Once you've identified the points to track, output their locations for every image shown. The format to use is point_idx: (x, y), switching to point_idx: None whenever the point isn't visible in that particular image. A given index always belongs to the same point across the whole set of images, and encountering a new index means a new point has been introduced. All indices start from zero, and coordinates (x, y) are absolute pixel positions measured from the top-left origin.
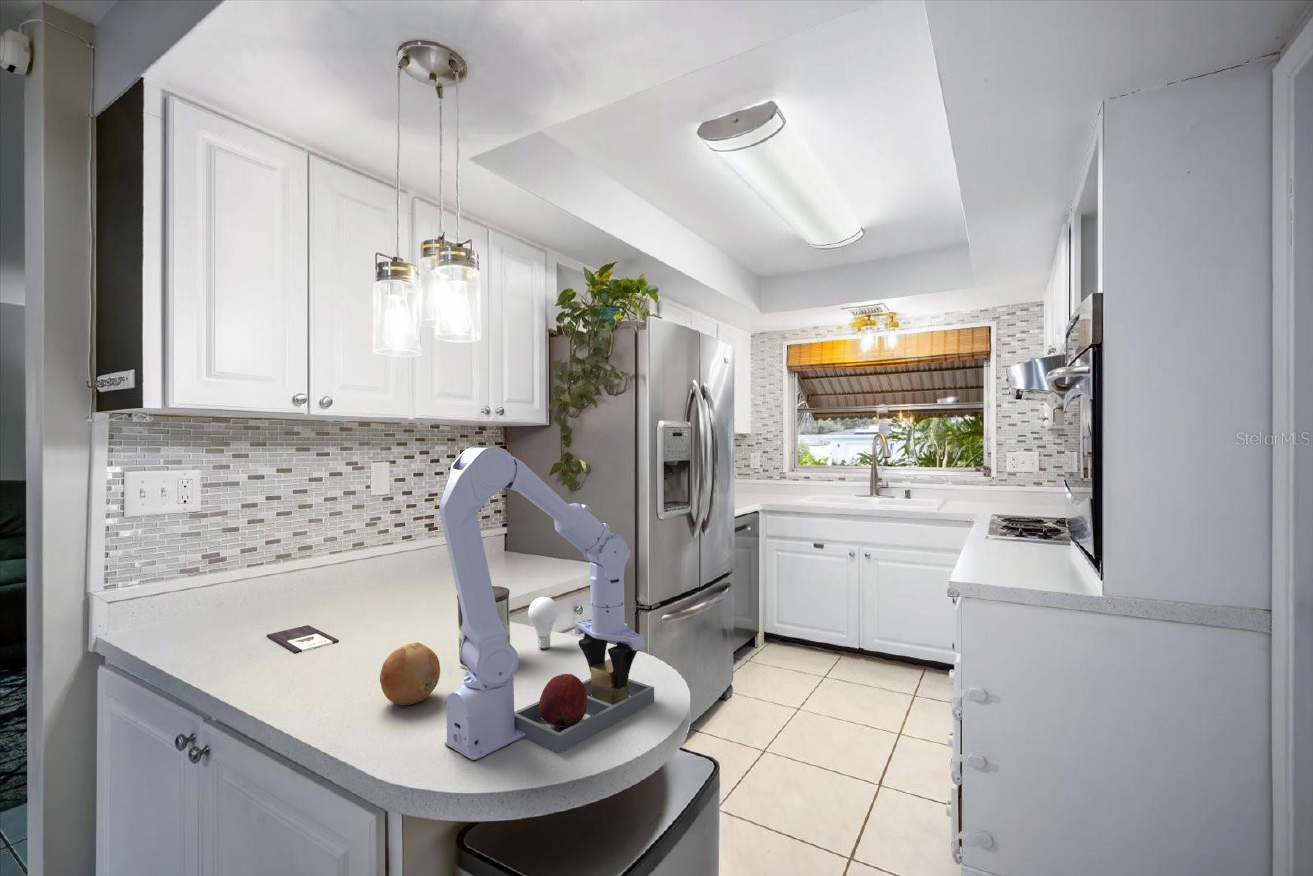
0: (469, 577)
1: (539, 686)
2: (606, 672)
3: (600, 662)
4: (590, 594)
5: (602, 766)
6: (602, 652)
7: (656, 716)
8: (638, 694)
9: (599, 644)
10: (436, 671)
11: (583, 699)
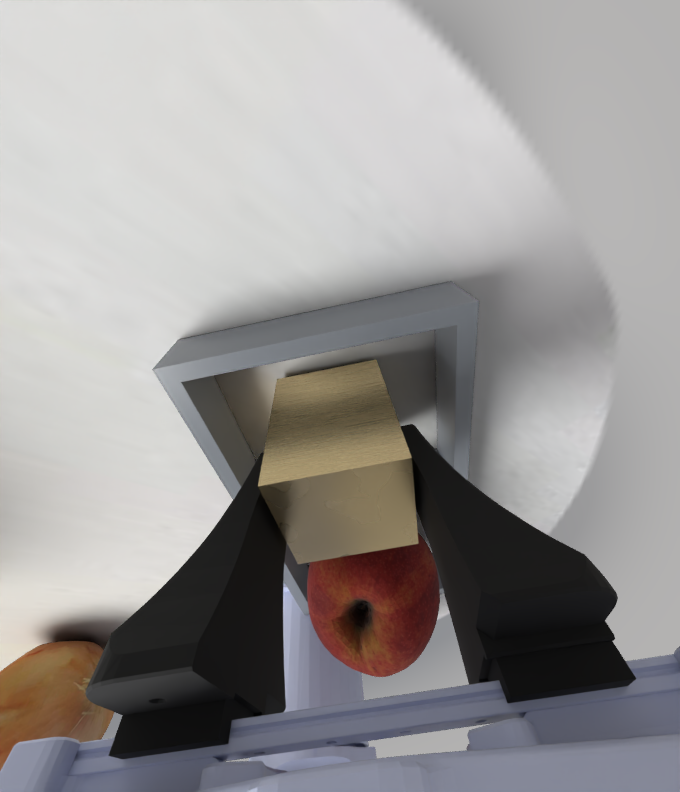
0: None
1: (85, 496)
2: (397, 545)
3: (268, 522)
4: None
5: (546, 527)
6: (252, 560)
7: (529, 346)
8: (468, 393)
9: (250, 637)
10: (60, 712)
11: (435, 580)
